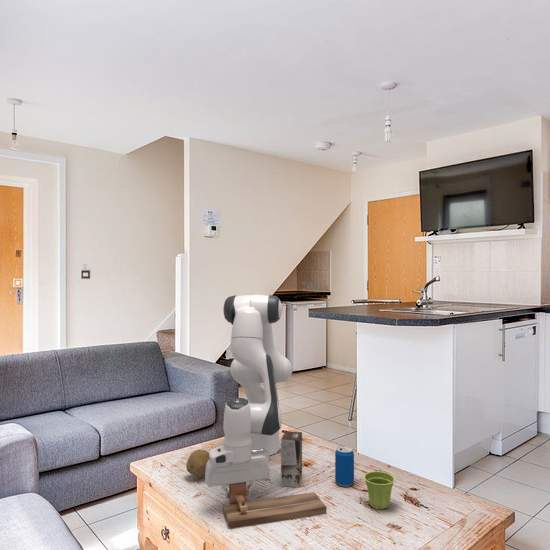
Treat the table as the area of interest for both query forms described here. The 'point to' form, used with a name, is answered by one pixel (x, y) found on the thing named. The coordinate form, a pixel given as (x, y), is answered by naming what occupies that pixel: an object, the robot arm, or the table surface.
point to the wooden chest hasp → (239, 495)
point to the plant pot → (379, 488)
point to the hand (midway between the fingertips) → (237, 495)
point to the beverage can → (344, 466)
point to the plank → (274, 510)
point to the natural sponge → (198, 463)
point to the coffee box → (291, 459)
